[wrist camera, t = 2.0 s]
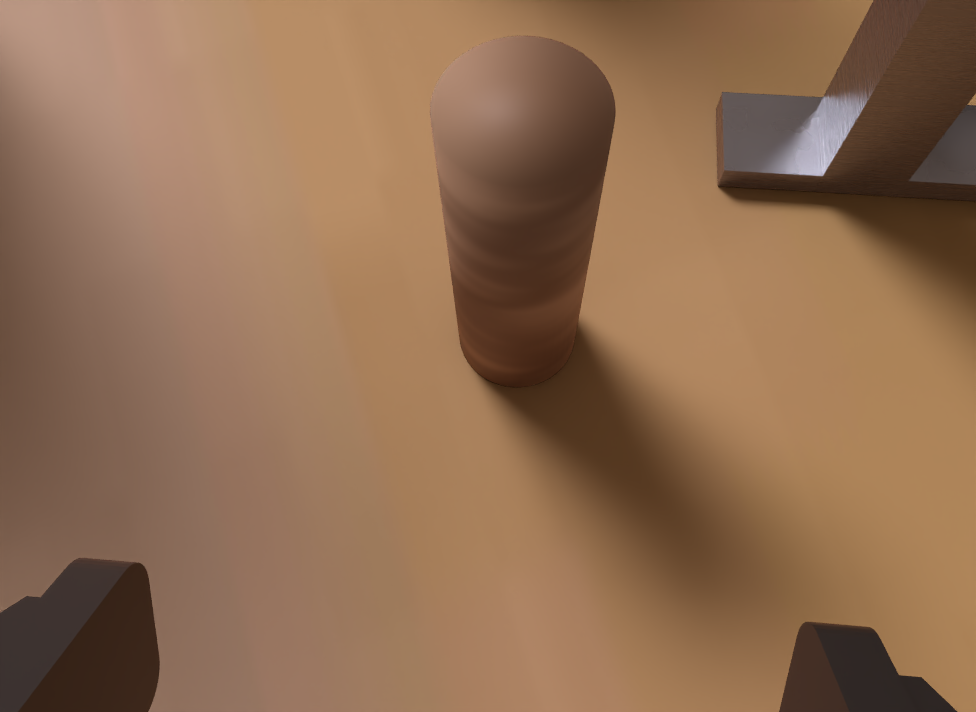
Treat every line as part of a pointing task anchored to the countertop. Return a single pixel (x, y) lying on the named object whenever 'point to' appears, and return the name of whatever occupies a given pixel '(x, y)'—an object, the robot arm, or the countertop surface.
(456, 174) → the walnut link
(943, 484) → the countertop surface
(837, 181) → the keeper bracket
